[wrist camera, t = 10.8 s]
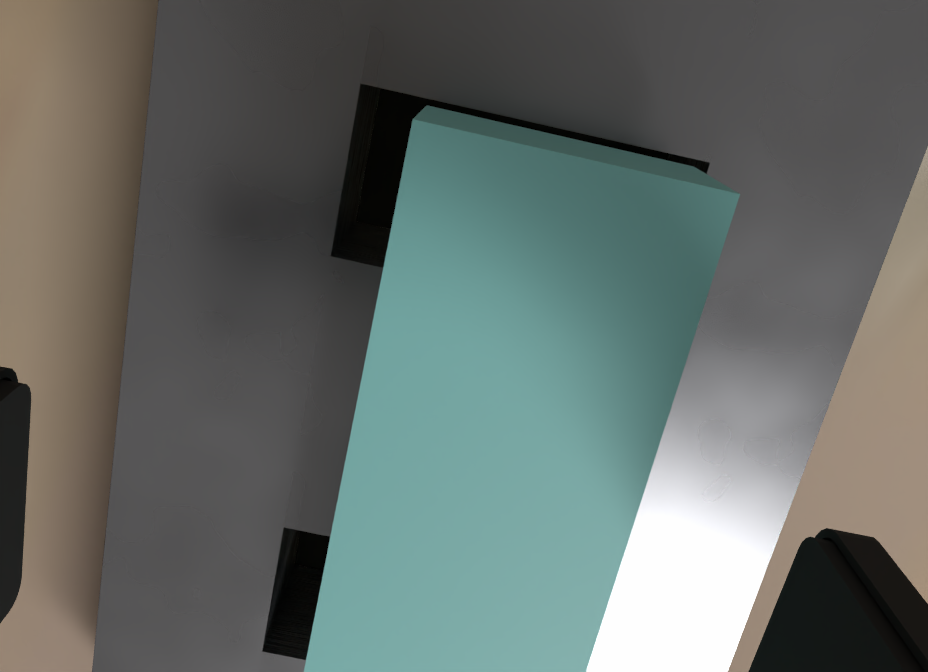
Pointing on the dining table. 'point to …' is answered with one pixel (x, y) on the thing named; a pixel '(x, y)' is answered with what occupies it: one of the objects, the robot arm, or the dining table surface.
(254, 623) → the slot rail
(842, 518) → the dining table surface
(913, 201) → the dining table surface
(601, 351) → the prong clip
